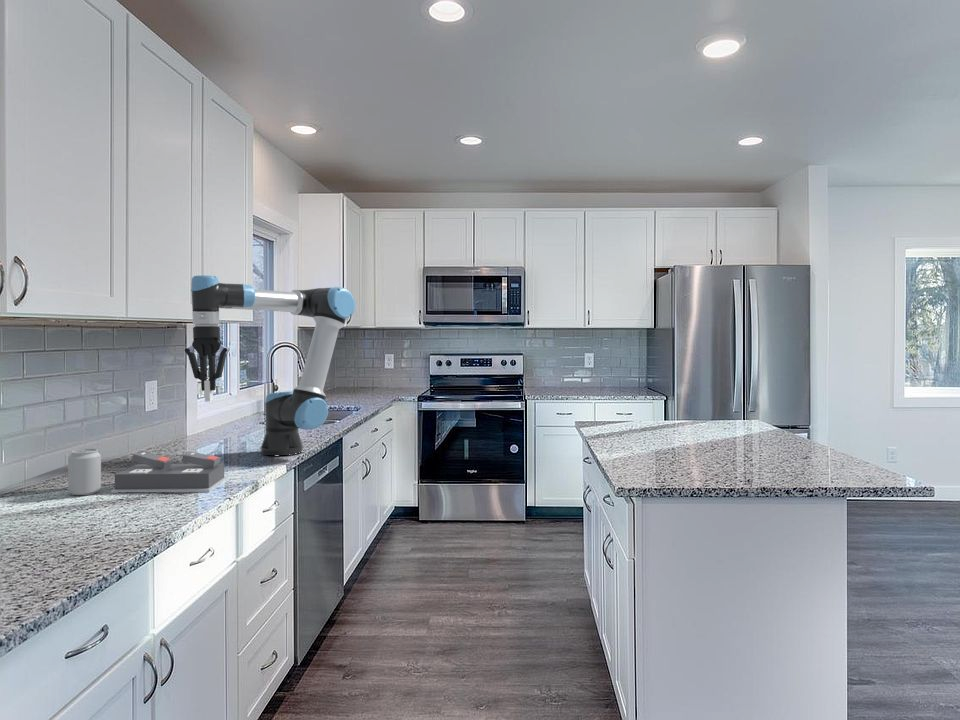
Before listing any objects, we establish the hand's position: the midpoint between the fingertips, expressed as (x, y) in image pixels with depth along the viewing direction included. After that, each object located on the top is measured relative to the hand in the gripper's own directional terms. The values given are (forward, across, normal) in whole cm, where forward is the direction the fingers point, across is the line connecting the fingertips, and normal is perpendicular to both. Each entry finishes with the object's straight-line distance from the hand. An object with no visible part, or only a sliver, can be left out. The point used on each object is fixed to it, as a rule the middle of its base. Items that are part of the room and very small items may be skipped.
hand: (209, 400), depth 180 cm
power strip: (+23, -6, -14) cm, 27 cm away
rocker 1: (+17, -13, -12) cm, 24 cm away
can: (+23, -26, -21) cm, 40 cm away
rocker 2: (+17, +1, -12) cm, 21 cm away
